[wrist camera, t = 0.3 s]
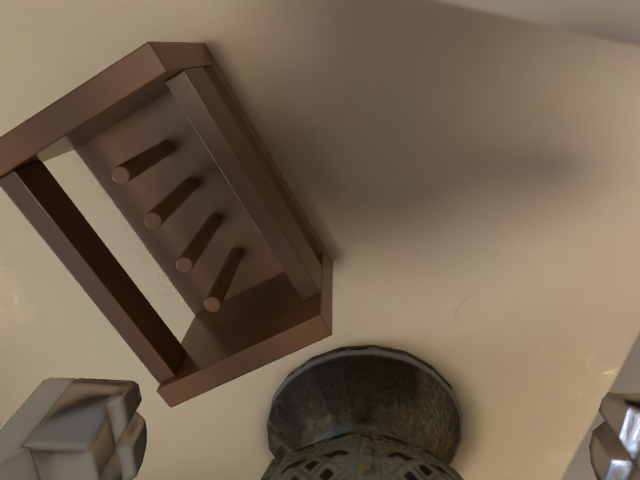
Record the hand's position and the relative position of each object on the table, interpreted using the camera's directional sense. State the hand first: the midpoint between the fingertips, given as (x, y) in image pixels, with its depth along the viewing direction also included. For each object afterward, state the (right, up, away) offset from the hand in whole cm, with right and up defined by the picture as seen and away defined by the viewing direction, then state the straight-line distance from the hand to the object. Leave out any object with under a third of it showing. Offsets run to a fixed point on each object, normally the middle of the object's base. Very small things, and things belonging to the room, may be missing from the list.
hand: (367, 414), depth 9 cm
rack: (-7, +6, +19) cm, 21 cm away
